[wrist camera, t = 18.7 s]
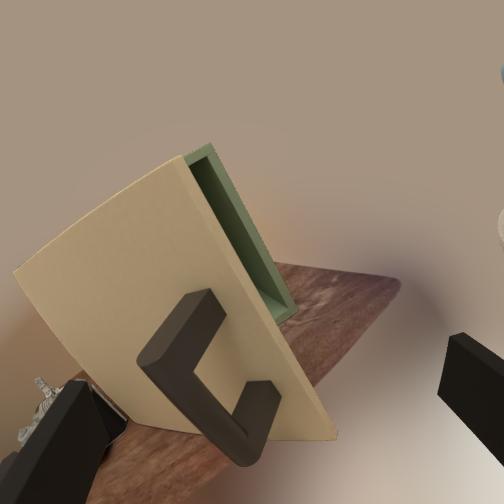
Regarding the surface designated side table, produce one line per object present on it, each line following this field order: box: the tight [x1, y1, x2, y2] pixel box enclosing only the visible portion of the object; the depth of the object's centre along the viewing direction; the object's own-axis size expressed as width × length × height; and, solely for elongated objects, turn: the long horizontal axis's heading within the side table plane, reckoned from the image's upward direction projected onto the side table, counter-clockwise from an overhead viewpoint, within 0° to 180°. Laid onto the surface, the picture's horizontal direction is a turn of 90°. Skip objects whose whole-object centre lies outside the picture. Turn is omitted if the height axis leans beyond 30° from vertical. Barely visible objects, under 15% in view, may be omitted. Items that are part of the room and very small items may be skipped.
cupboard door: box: [13, 155, 338, 467], centre depth 23 cm, size 7×26×24 cm, turn 69°
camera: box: [18, 378, 127, 447], centre depth 31 cm, size 15×7×10 cm, turn 131°
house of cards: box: [34, 377, 64, 398], centre depth 45 cm, size 9×9×8 cm
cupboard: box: [17, 143, 299, 326], centre depth 44 cm, size 18×26×24 cm
